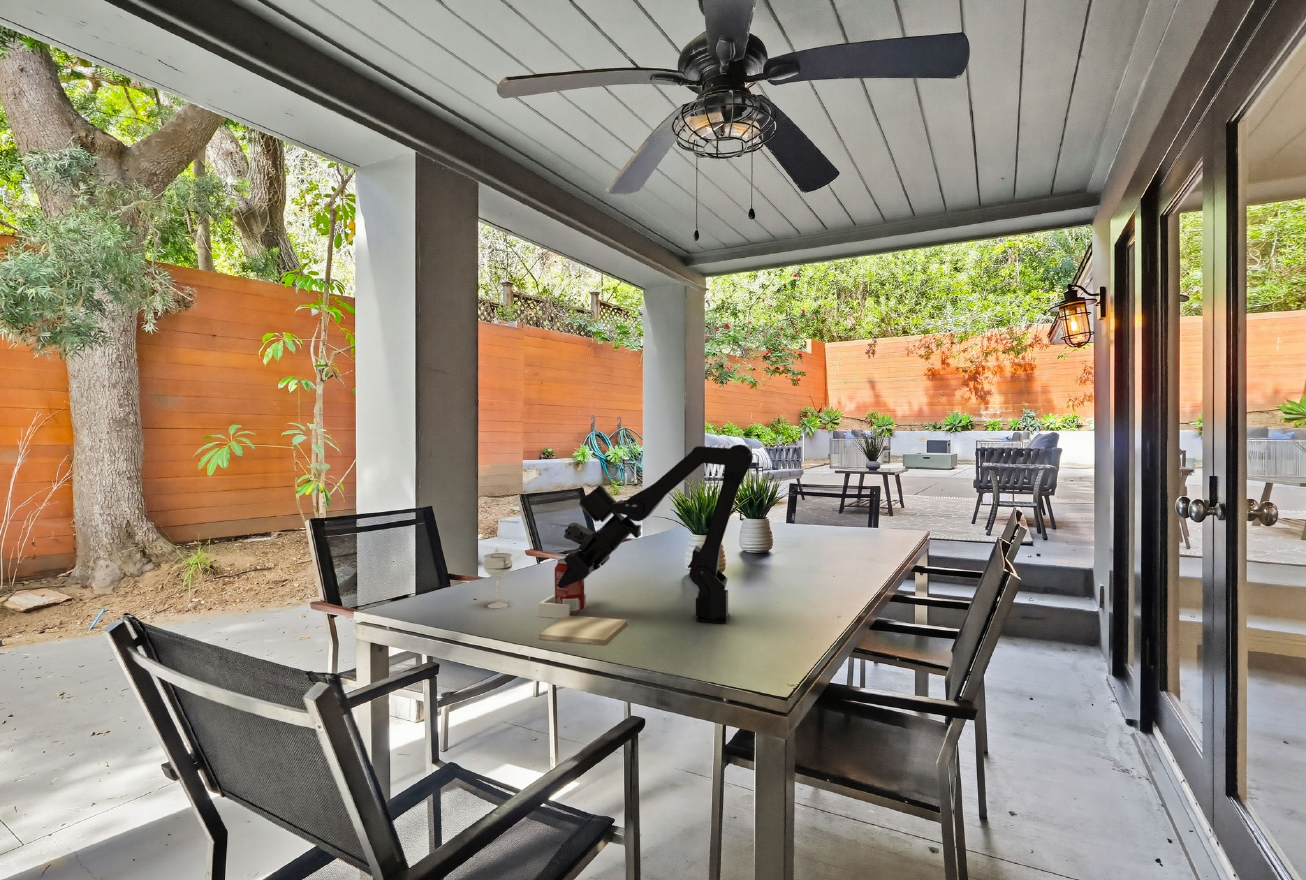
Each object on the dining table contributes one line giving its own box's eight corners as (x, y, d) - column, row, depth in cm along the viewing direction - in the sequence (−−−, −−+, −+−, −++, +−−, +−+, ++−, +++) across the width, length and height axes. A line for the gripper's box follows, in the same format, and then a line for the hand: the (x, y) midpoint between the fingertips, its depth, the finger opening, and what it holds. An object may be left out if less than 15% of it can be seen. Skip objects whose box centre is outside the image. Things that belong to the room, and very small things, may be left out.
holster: (586, 606, 150) (586, 594, 150) (568, 618, 140) (568, 605, 140) (557, 604, 152) (557, 592, 152) (538, 616, 142) (538, 603, 142)
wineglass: (481, 603, 153) (481, 554, 153) (509, 600, 156) (509, 552, 156) (486, 610, 147) (486, 559, 147) (515, 607, 150) (515, 556, 150)
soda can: (582, 616, 142) (582, 562, 142) (552, 616, 142) (552, 562, 142) (586, 608, 149) (585, 557, 149) (557, 608, 149) (557, 557, 149)
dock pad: (627, 624, 136) (627, 619, 136) (605, 645, 122) (605, 639, 122) (567, 619, 139) (567, 615, 139) (539, 639, 126) (539, 634, 126)
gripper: (596, 507, 154) (553, 550, 156) (573, 516, 136) (524, 565, 138) (628, 540, 153) (584, 584, 155) (608, 553, 134) (559, 603, 136)
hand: (563, 583), depth 146 cm, fingers closed on soda can, 7 cm apart
